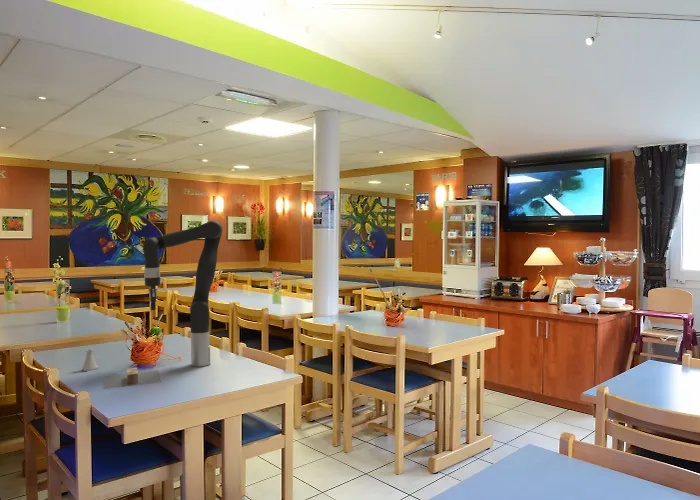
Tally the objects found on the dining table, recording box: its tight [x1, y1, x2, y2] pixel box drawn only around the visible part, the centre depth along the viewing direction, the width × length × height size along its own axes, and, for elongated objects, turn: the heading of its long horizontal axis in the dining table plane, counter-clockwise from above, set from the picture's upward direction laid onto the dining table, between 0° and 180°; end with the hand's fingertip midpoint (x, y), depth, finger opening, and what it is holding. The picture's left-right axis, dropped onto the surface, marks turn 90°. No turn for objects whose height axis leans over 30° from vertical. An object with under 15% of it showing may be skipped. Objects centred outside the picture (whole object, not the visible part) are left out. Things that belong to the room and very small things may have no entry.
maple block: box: [126, 367, 139, 385], centre depth 237 cm, size 4×4×12 cm
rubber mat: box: [102, 369, 162, 390], centre depth 240 cm, size 24×22×1 cm
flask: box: [81, 349, 99, 372], centre depth 258 cm, size 7×7×10 cm
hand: (153, 309), depth 264 cm, fingers closed
